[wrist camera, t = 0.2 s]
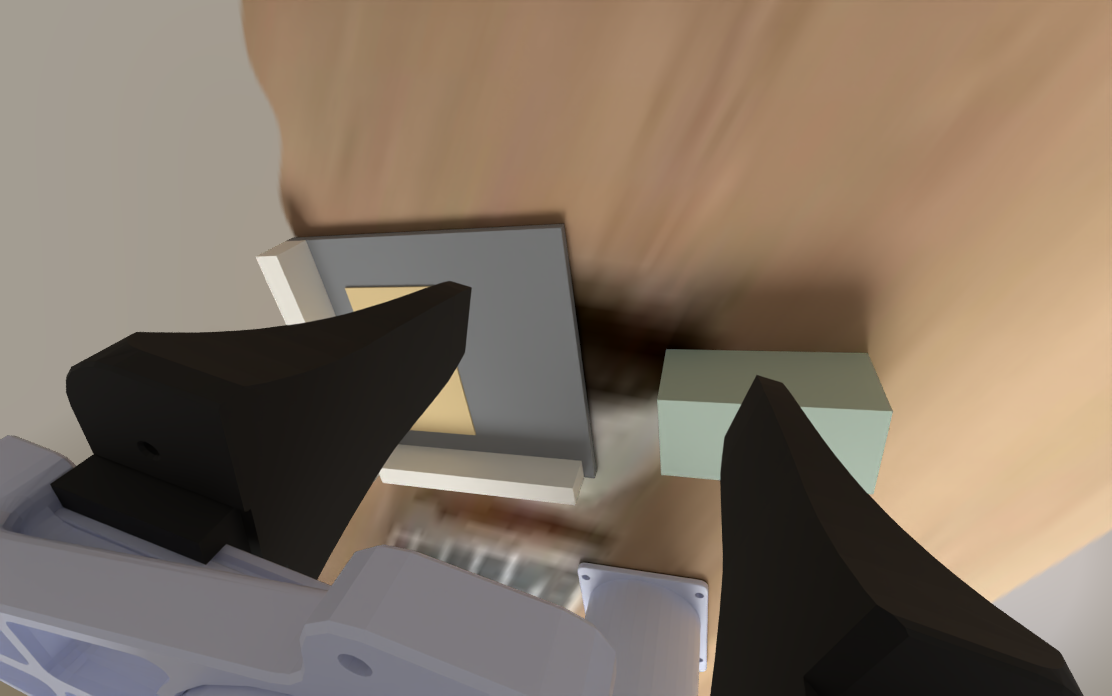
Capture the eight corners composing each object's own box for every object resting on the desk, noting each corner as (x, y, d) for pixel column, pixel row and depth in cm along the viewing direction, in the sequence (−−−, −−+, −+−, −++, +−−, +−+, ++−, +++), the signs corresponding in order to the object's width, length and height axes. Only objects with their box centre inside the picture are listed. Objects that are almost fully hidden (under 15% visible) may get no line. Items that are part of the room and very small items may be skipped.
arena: (596, 471, 28) (586, 506, 26) (379, 450, 33) (356, 479, 30) (563, 223, 21) (547, 245, 19) (292, 237, 25) (255, 256, 23)
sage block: (852, 427, 23) (873, 494, 20) (669, 416, 25) (661, 474, 22) (866, 350, 21) (892, 411, 18) (666, 347, 23) (657, 399, 20)
